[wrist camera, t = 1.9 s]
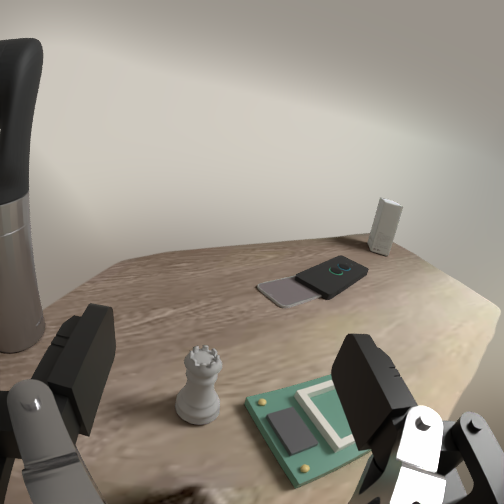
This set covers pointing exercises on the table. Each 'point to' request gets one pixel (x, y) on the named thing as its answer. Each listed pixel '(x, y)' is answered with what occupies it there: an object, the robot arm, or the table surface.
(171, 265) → the table surface
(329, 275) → the smart home device
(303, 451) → the header board
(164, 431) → the table surface
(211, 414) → the rook chess piece
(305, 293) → the smartphone
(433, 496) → the robot arm
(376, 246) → the skincare box
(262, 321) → the table surface
